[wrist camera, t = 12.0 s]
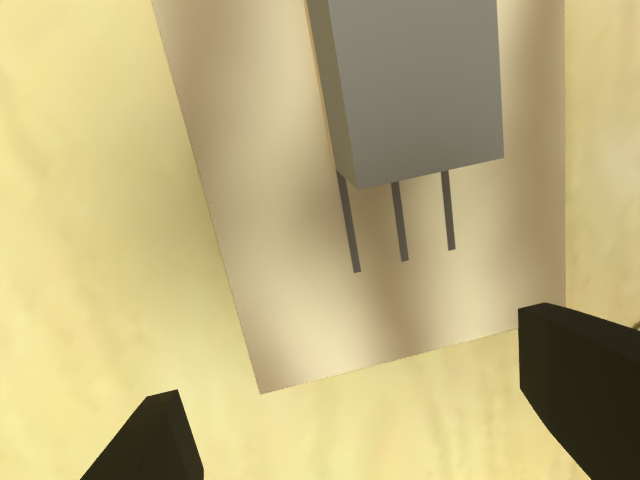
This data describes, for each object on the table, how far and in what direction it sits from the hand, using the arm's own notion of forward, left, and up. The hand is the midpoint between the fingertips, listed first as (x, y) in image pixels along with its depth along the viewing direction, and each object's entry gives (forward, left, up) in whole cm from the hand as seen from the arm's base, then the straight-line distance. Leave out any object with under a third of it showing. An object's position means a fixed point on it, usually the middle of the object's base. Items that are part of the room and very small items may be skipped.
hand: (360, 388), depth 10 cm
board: (-4, -3, -10) cm, 11 cm away
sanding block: (-4, -7, -9) cm, 12 cm away
